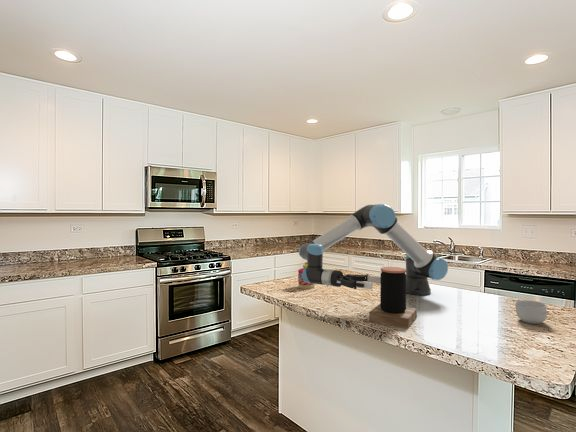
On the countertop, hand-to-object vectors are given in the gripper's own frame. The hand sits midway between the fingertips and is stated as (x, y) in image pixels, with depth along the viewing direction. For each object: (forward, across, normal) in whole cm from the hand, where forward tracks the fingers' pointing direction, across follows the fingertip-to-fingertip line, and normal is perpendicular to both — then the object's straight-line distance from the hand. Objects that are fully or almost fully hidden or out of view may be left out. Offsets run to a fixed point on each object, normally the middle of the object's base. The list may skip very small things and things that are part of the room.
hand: (377, 283), depth 148 cm
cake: (-54, -34, -15) cm, 66 cm away
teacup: (+57, -30, -15) cm, 66 cm away
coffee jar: (+7, 0, -11) cm, 13 cm away
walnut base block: (+7, 0, -15) cm, 17 cm away
